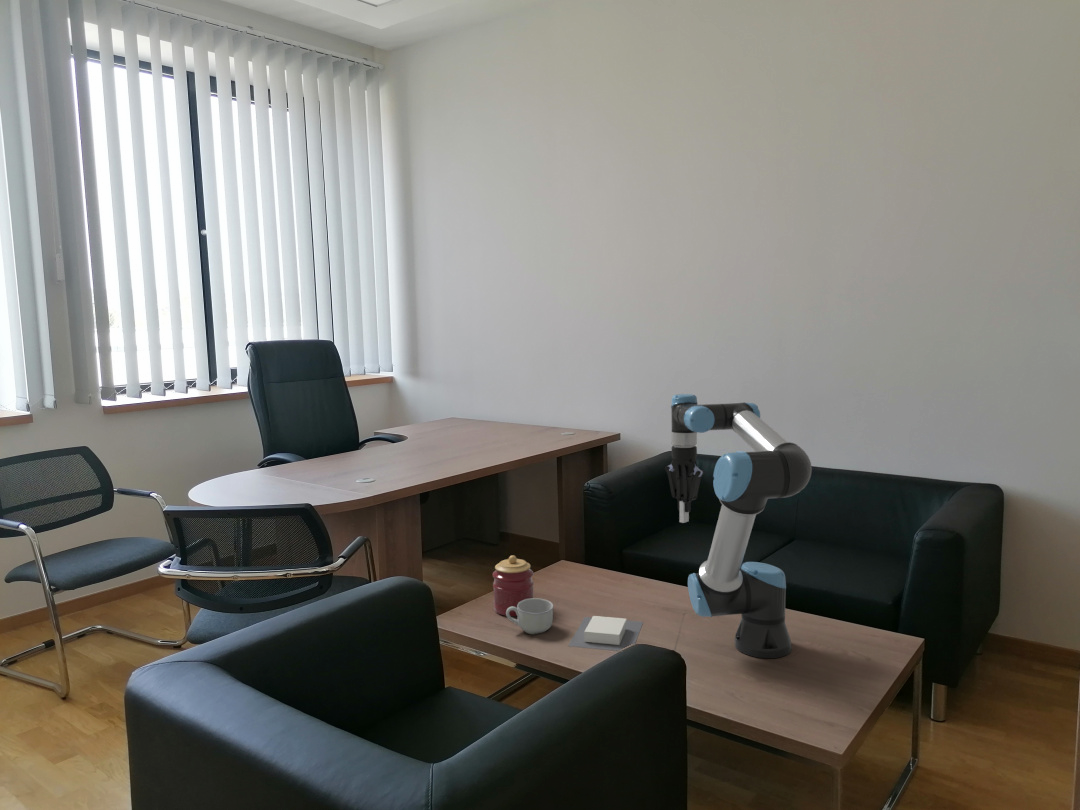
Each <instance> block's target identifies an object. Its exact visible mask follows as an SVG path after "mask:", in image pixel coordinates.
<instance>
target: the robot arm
mask: <svg viewBox="0 0 1080 810" xmlns="http://www.w3.org/2000/svg"><path fill="white" fill-rule="evenodd" d="M670 408H671V409H670V410H671V411H670V413H671V444H672V446H671V459H672V461H671V463H670V464H669V465H667V466H665V467H664V470H665V472H666V474H667V477H668V484H669V489H670V494H671V498H672V499H676V500H677V510H678V512H679V523H681V524H684V523H685V524H686V523H687V522H690V521H689V519H690V515H689V513H690V512H691V509H692V508H691V506H692V504H691V503H692V501H695V500H697V499H698V493H699V490H700V489H699V488H700V484H701V480H702V477H703V475H704V473H705V470H704V469H700V468H699V467H698V463H697V461H696V460H697V456H698V447H697V446H696V445H697V444H698V438H697V437H698V433H699V434H702V433H707V432H709V431H726V430H733V431H734V432H735V433H736V434H737V435H738V436H739V437H740V438H741V439H742V440H743V441H744V442H745V443H746V444H747V445H748V446H749V447H750V448H751V449H752V450H753V451H742V450H738V451H735V452H726V453H725V454H723V455H721V456H720V457H719V458H718V460H717V461H716V463H715V466H714V470H713V475H712V477H713V481H712V483H713V485H712V486H713V489H714V493H715V495H716V497H717V498H718V499H719V502H720V504H721V506H720V511H719V515H718V520H717V522H716V526H715V530H714V533H713V538H712V543H711V545H710V549H709V554H708V556H707V560H705V561H703V562H702V563H701V564H700V566H699V568H698V569H699V570H698V573H695V572H693V573H690V574H688V577H687V589H688V591H687V592H688V596H689V600H690V603H691V606H692V609H693V611H694V612H695V614H696V615H697V616H699V617H703V618H705V617H709V618H712V617H721V616H722V617H723V616H731V615H732V616H733V615H741V618H740V621H739V624H738V627H737V630H736V632H735V635H734V647H735V648H736V649H737V650H738V651H739V652H741V653H742V654H745V655H748V656H751V657H755V658H760V659H777V658H778V659H779V658H782V657H786V656H788V655H790V653H791V652H792V640H791V637H790V634H789V631H788V627H787V625H786V597H787V595H786V591H787V590H786V589H787V582H786V575H785V572H784V571H783V570H782V569H781V568H779V567H777V566H775V565H772V564H769V563H764V562H758V561H746V562H743V560H744V556H745V554H746V550H747V547H748V544H749V540H750V536H751V533H752V529H753V527H754V523H755V519H756V516H757V515H759V514H760V513H761V512H763V511H764V509H765V508H766V504H767V502H768V500H769V499H782V498H785V499H786V498H789V497H790V498H791V497H793V496H795V495H797V494H798V493H800V492H801V491H803V490H804V489H805V488H806V486H807V485H808V483H809V482H810V480H811V476H812V470H813V469H812V462H811V459H810V457H809V455H808V454H807V453H806V451H805V450H804V449H802V448H801V447H800V446H799V445H798V444H796V443H794V442H791V441H790V442H789V441H787V440H786V439H785V438H783V436H781V435H780V434H779V433H778V432H776V431H775V430H774V429H773V428H772V427H771V426H770V425H769V424H767V423H766V422H765V421H764V420H763V419H761V411H760V409H759V407H758V405H757V404H756V403H753V402H735V403H734V402H733V403H732V402H731V403H711V404H710V403H709V404H707V403H706V404H698V397H697V395H695V394H691V393H685V394H684V393H681V394H680V393H678V394H674V395H672V397H671V405H670Z"/></svg>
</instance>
